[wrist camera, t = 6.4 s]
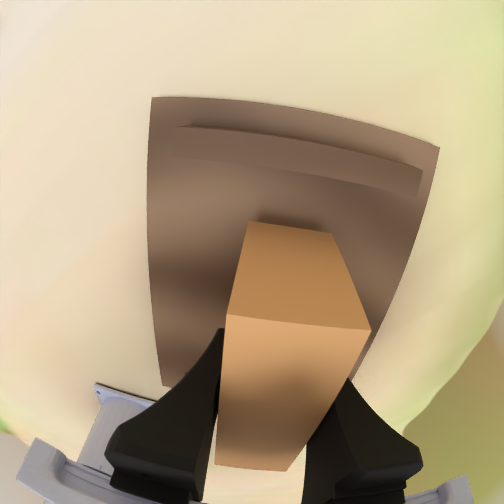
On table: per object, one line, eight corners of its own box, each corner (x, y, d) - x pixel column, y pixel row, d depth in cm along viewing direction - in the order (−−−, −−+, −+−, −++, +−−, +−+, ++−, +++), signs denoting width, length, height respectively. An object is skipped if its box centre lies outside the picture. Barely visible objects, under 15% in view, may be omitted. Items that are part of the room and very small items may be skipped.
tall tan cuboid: (286, 384, 16) (285, 471, 11) (229, 377, 16) (214, 464, 11) (331, 233, 12) (371, 330, 6) (248, 220, 12) (226, 314, 6)
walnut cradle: (334, 399, 21) (338, 429, 18) (165, 378, 21) (154, 406, 18) (432, 145, 12) (464, 154, 9) (158, 97, 12) (130, 95, 9)
